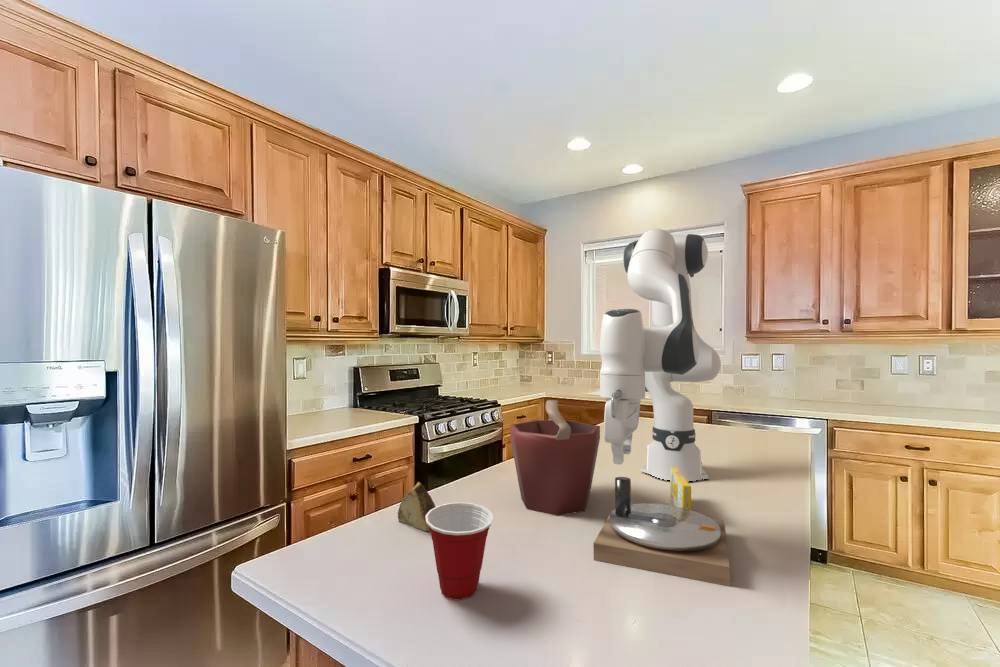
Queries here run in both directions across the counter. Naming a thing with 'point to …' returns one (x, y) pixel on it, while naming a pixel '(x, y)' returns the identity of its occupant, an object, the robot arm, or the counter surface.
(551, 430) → the bucket
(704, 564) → the walnut base
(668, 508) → the handwheel
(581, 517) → the counter surface
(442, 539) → the plastic cup
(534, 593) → the counter surface
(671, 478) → the candy box
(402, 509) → the rock
